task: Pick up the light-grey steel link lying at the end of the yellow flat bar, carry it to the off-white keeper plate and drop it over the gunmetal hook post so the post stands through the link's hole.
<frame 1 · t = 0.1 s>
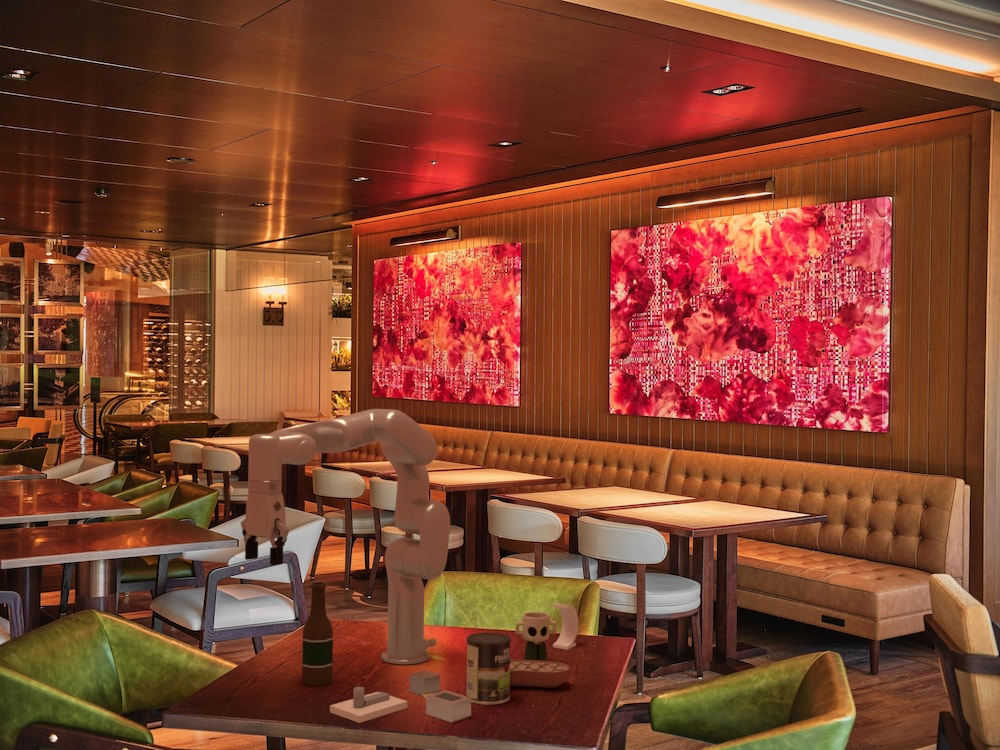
hand: (263, 561, 238), 31 cm above the table, tool pointing down, fingers open, 9 cm apart
character mug: (535, 665, 267), on the table
headphone stand: (565, 646, 286), on the table
mitochondrion model: (521, 686, 249), on the table
coffee can: (487, 699, 239), on the table
yellow flat bar: (434, 701, 236), on the table
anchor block: (424, 691, 243), on the table
beer bottle: (317, 682, 250), on the table
link: (448, 715, 226), on the table
keeper: (369, 710, 229), on the table
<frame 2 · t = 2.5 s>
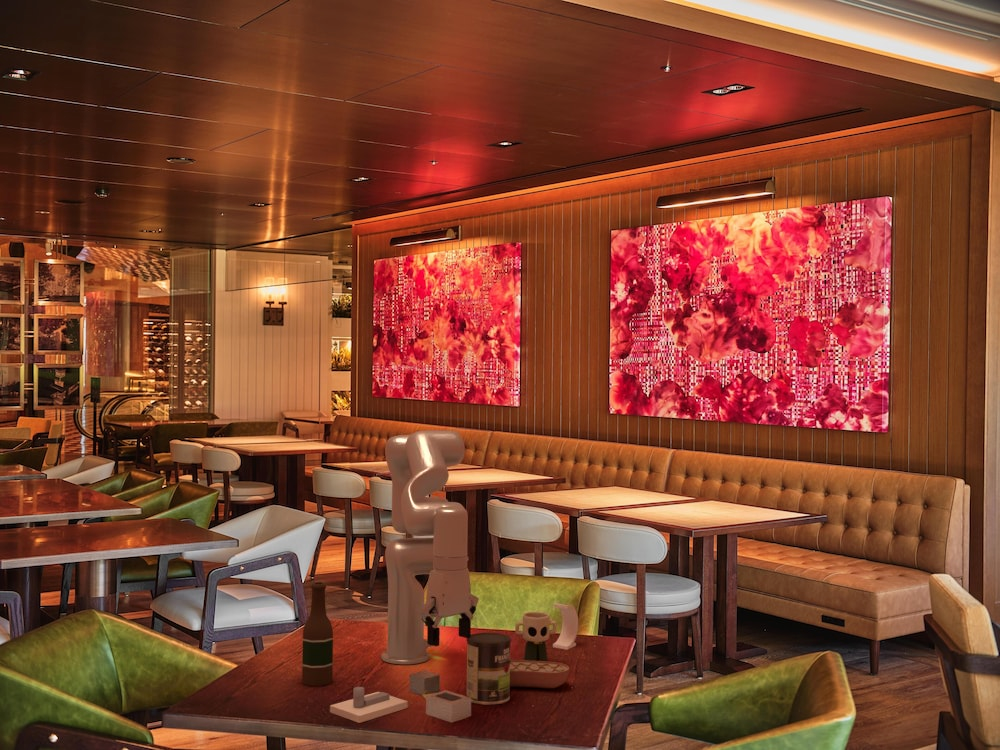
hand: (449, 641, 226), 16 cm above the table, tool pointing down, fingers open, 9 cm apart
nothing on the table moved.
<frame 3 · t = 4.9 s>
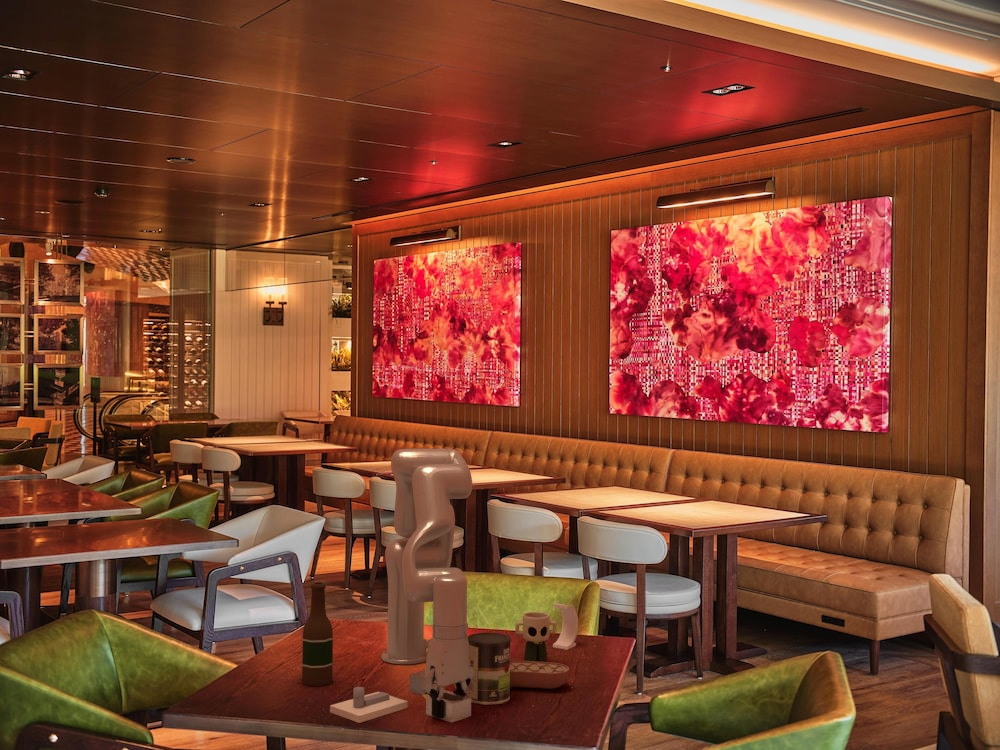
hand: (448, 712, 226), 1 cm above the table, tool pointing down, fingers closed on link, 6 cm apart
link: (448, 715, 226), on the table, touching gripper
everything else where it was.
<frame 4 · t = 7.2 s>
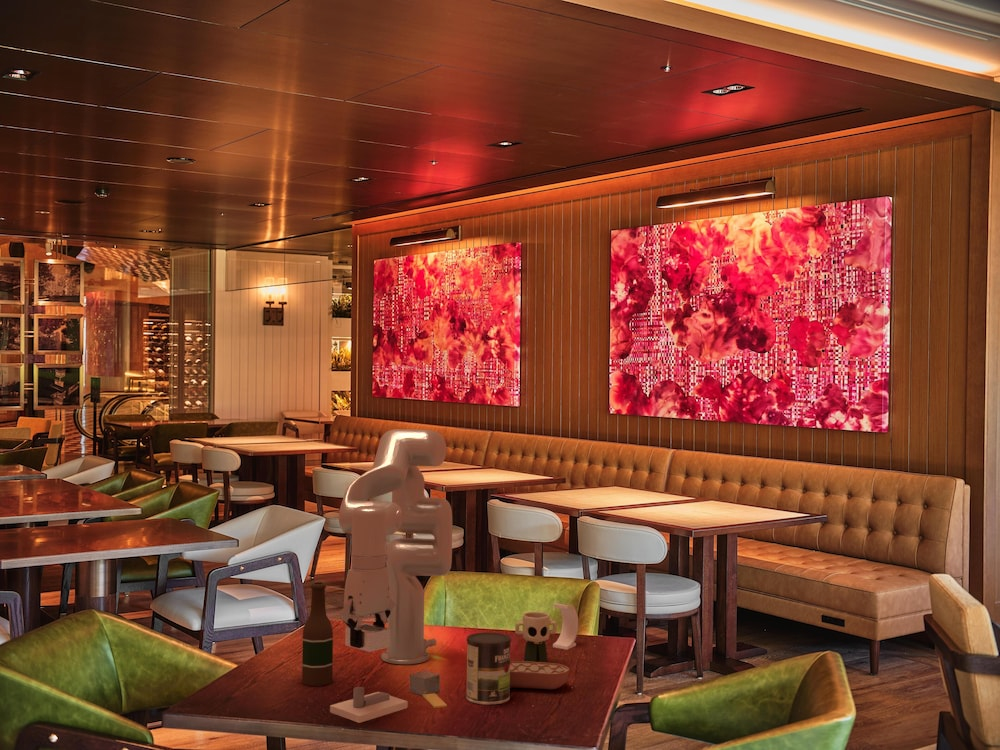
hand: (367, 643, 227), 15 cm above the table, tool pointing down, fingers closed on link, 6 cm apart
link: (367, 645, 227), point 15 cm above the table, touching gripper
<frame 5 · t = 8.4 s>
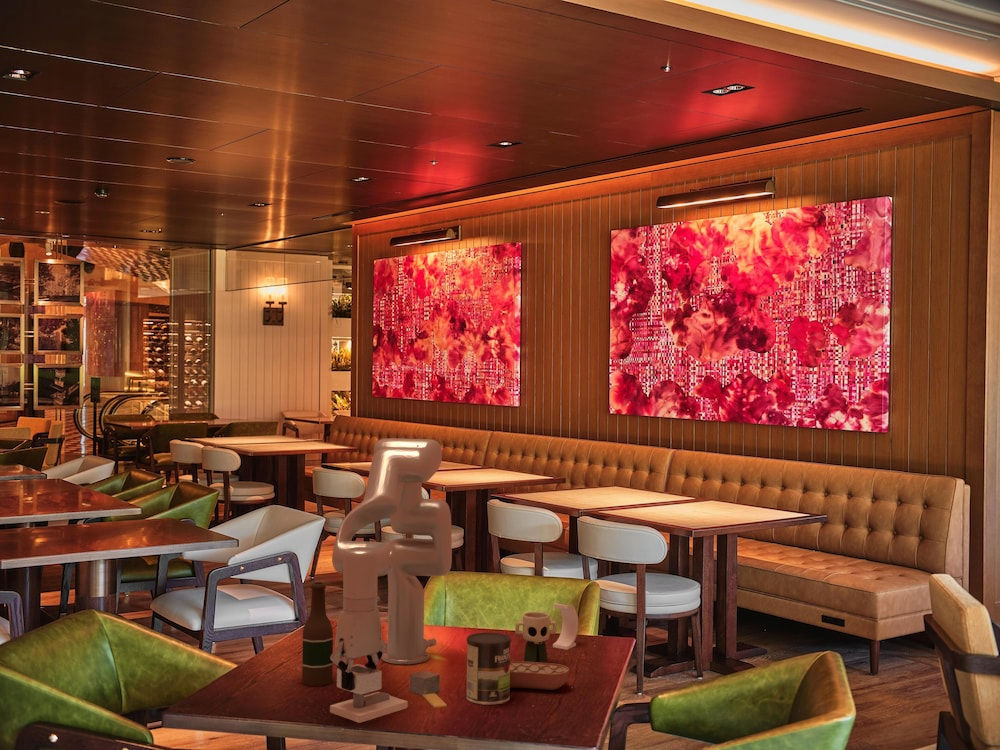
hand: (358, 685, 227), 6 cm above the table, tool pointing down, fingers closed on link, 6 cm apart
link: (359, 687, 227), point 6 cm above the table, touching gripper
when the fingers open (4 cm above the table, at t = 9.6 s): link drops 1 cm, resting on keeper.
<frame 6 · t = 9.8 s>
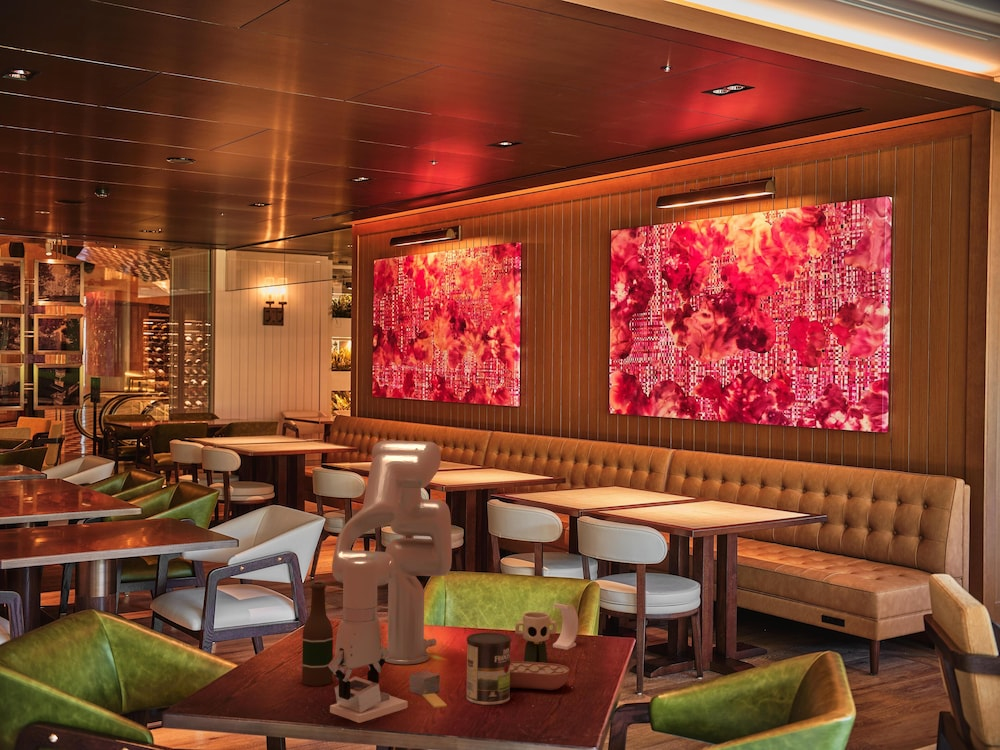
hand: (358, 693, 227), 4 cm above the table, tool pointing down, fingers open, 7 cm apart
link: (359, 702, 227), point 2 cm above the table, tilted 12°, touching gripper, keeper
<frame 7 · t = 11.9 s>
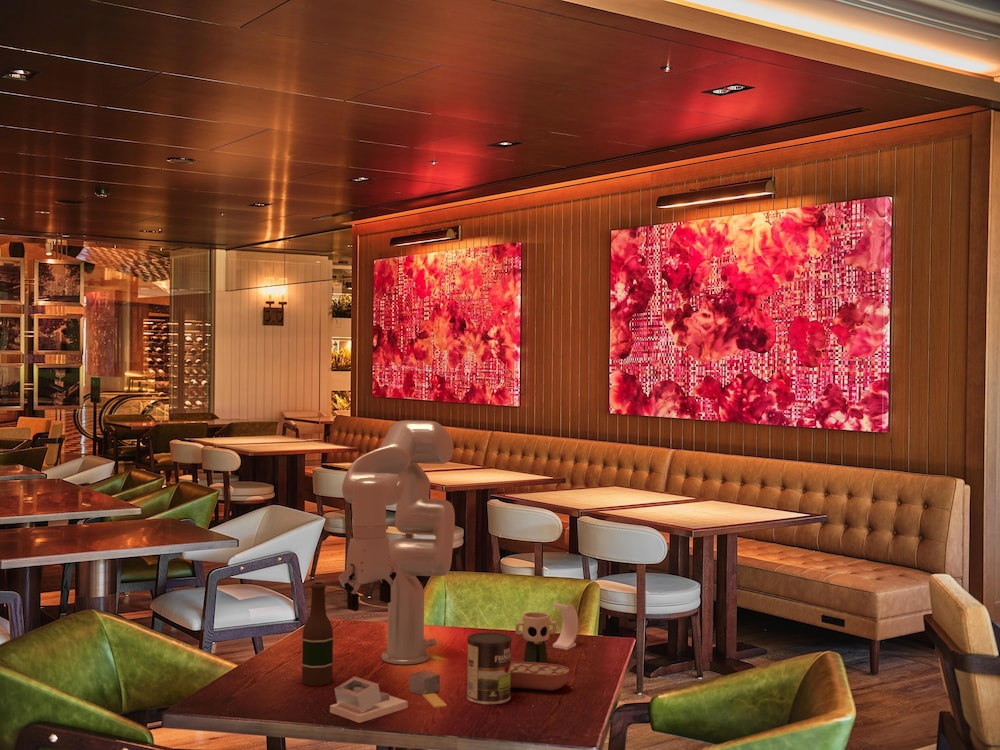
hand: (369, 605, 237), 22 cm above the table, tool pointing down, fingers open, 9 cm apart
link: (359, 702, 227), point 2 cm above the table, tilted 14°, touching keeper
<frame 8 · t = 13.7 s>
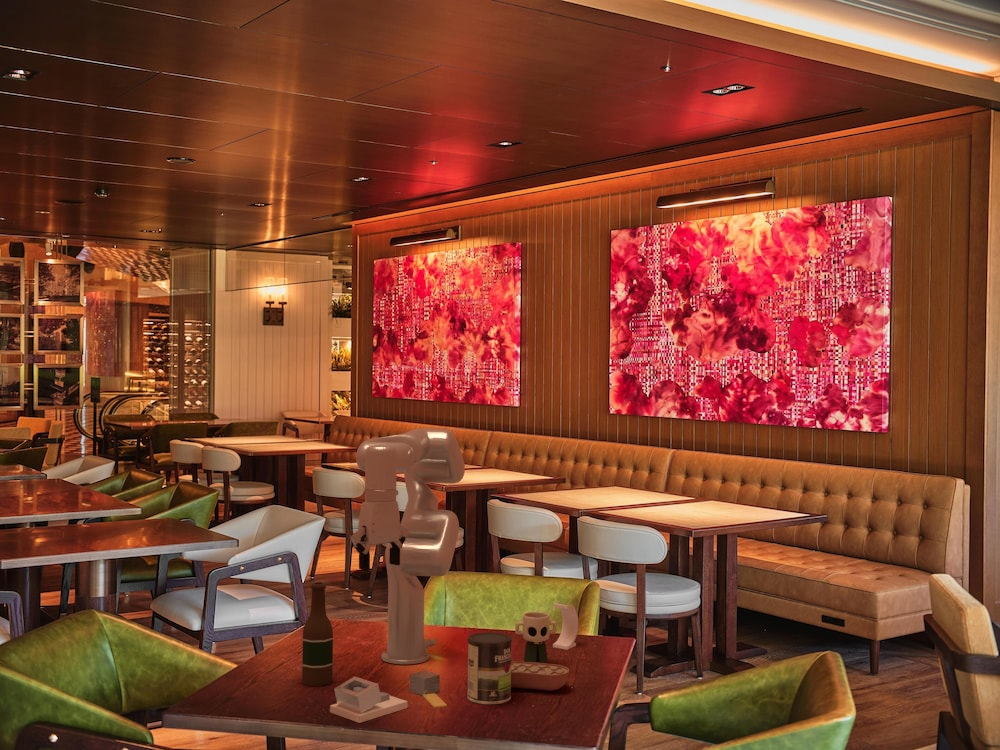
hand: (379, 567, 248), 28 cm above the table, tool pointing down, fingers open, 9 cm apart
at the end: link 0.2 cm from the target spot on the keeper, point 2.3 cm above the keeper's base; the gripper is holding nothing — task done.
